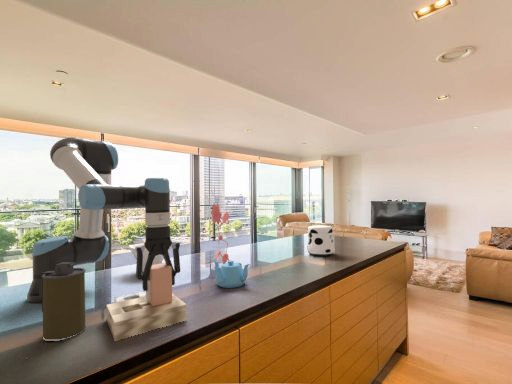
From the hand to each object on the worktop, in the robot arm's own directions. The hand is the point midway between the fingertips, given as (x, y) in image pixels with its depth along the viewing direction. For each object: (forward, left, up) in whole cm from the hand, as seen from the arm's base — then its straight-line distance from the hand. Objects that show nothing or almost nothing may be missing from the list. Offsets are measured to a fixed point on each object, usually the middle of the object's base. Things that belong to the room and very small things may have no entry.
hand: (159, 297), depth 89 cm
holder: (-5, +15, -6) cm, 17 cm away
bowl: (+13, +62, -6) cm, 64 cm away
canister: (-25, +6, -6) cm, 27 cm away
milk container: (+111, +31, -6) cm, 115 cm away
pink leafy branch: (+48, +54, -6) cm, 73 cm away
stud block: (0, 0, -4) cm, 4 cm away
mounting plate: (-4, 0, -6) cm, 7 cm away
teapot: (+34, +14, -6) cm, 37 cm away
